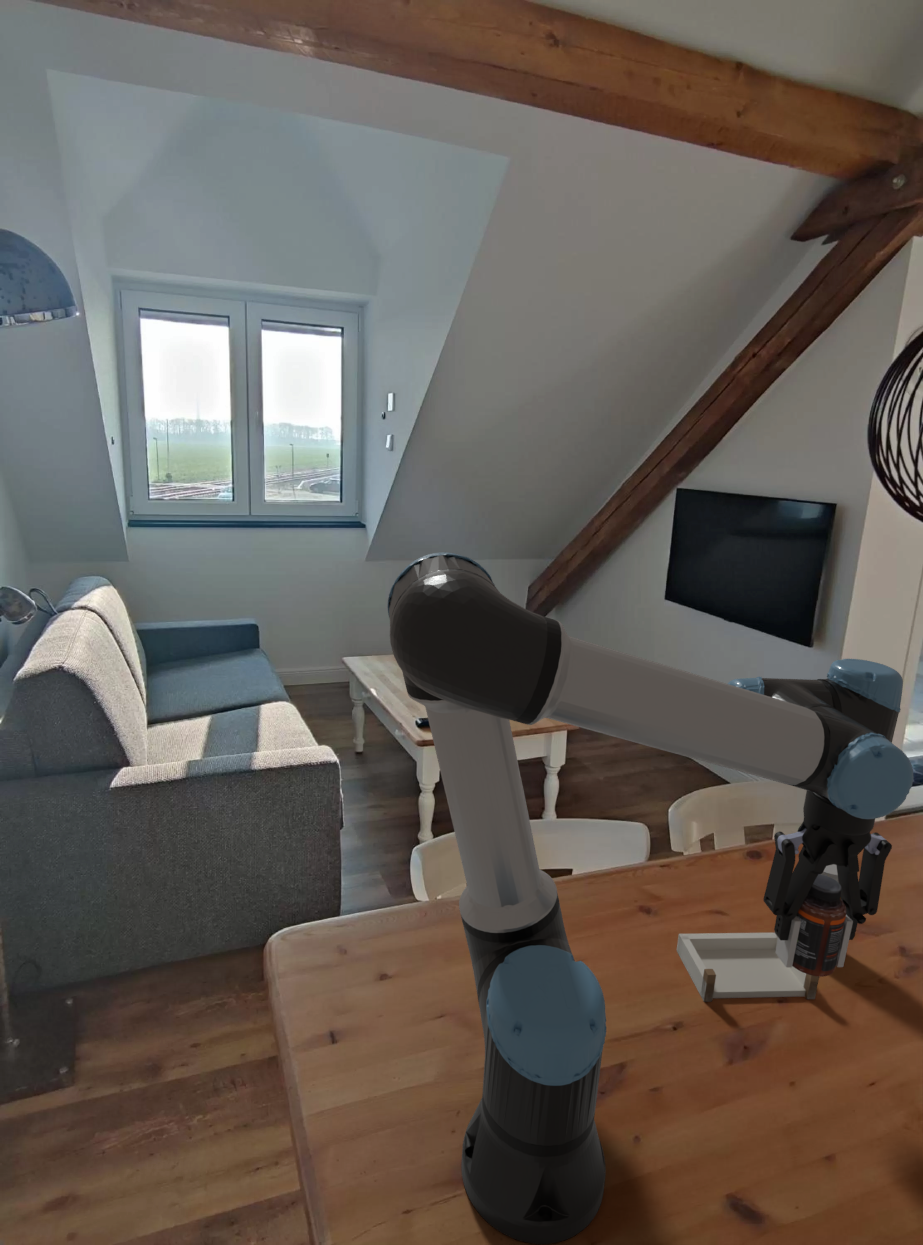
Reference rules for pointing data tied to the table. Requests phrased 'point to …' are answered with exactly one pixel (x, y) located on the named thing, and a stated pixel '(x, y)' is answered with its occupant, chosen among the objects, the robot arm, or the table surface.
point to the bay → (741, 967)
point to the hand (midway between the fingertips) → (808, 959)
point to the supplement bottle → (820, 928)
